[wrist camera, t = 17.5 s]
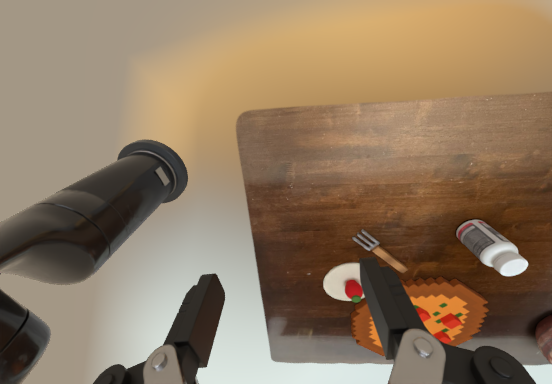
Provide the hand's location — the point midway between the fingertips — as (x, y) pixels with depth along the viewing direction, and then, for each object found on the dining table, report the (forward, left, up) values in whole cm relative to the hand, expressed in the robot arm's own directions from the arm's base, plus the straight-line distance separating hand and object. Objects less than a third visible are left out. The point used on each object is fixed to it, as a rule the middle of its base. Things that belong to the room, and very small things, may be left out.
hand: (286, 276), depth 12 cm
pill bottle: (+9, -40, -28) cm, 50 cm away
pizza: (-16, -57, -28) cm, 65 cm away
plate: (-17, -34, -28) cm, 47 cm away
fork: (-6, -31, -28) cm, 43 cm away
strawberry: (-17, -34, -28) cm, 47 cm away
